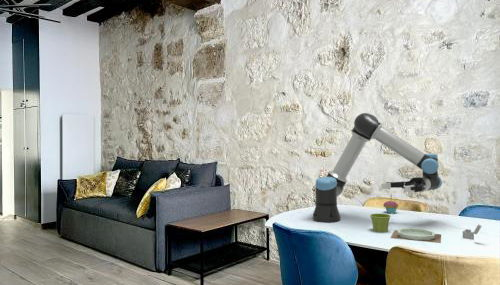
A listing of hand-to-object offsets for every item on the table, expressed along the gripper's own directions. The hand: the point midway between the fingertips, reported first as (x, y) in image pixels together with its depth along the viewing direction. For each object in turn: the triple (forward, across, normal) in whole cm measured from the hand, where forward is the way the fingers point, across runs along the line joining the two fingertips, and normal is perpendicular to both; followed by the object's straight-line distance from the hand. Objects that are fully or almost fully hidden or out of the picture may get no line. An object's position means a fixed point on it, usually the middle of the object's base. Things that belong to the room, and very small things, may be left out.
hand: (393, 187), depth 189 cm
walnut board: (+6, -16, -21) cm, 27 cm away
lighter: (-9, -33, -22) cm, 40 cm away
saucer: (+6, -16, -20) cm, 26 cm away
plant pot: (+10, 0, -21) cm, 23 cm away
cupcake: (-37, +30, -21) cm, 52 cm away
